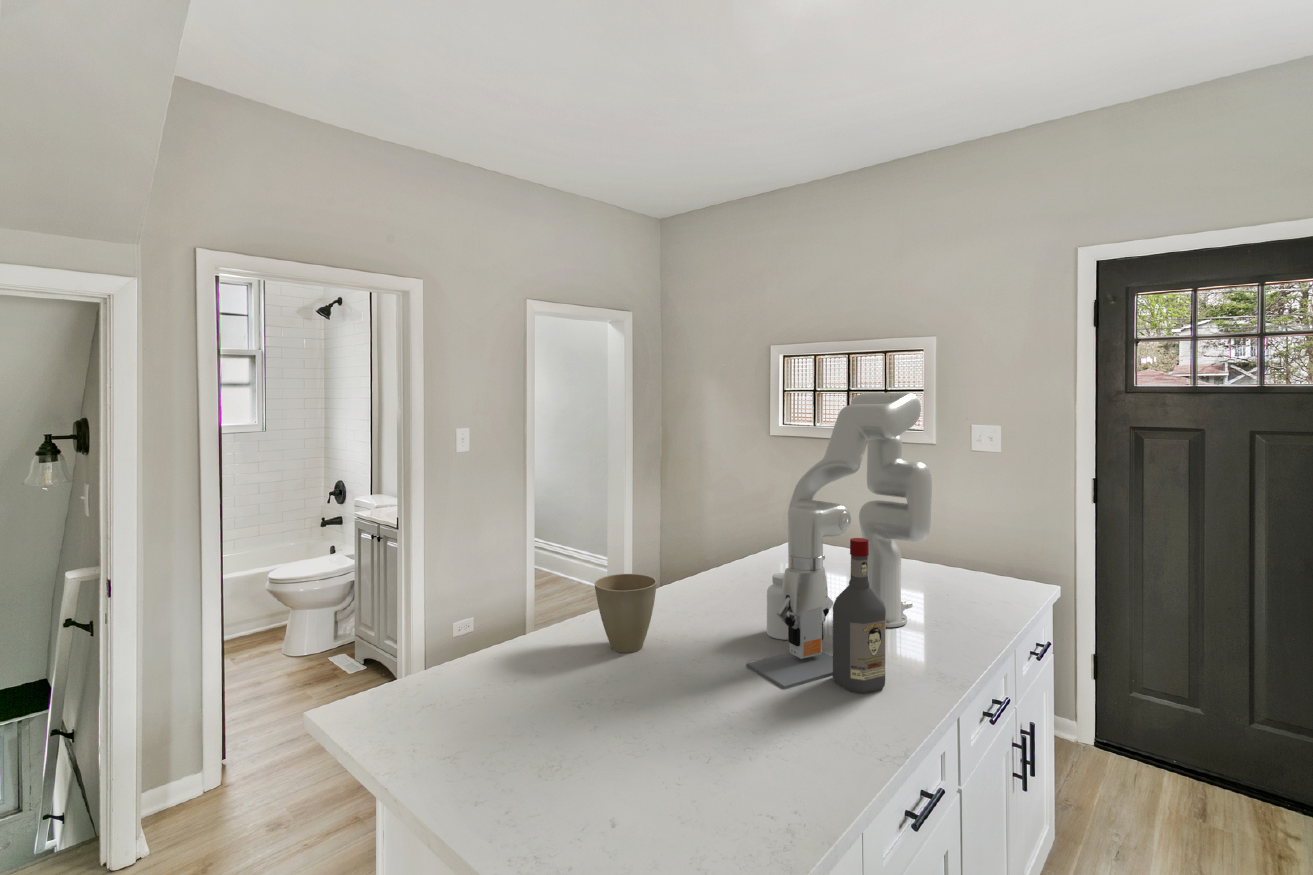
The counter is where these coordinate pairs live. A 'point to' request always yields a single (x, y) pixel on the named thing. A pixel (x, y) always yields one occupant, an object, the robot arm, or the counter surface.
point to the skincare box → (809, 634)
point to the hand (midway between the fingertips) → (805, 640)
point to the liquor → (859, 629)
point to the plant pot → (626, 609)
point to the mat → (793, 668)
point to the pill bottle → (776, 609)
